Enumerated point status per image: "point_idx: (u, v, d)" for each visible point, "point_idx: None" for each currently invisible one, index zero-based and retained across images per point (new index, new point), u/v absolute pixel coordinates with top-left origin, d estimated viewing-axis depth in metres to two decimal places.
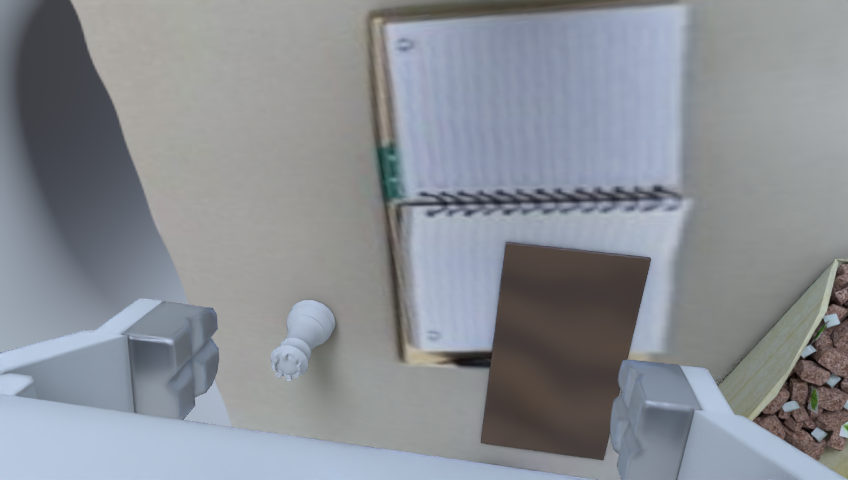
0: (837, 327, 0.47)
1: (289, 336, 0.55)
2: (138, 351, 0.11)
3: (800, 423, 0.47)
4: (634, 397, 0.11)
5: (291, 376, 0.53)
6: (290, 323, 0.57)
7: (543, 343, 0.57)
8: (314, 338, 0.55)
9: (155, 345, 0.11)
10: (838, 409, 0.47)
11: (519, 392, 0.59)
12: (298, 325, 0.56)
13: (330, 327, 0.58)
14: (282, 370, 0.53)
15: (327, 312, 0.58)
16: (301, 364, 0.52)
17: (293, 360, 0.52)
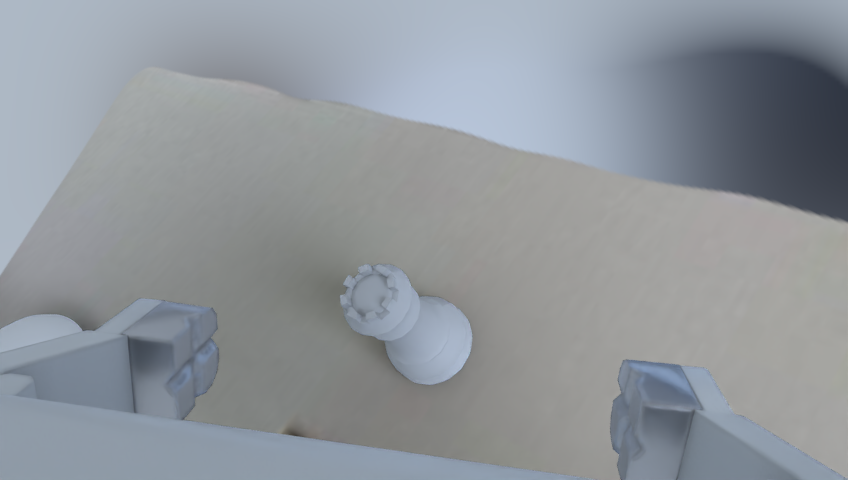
0: None
1: (421, 314, 0.28)
2: (138, 351, 0.11)
3: None
4: (634, 397, 0.11)
5: (349, 287, 0.27)
6: (444, 316, 0.30)
7: None
8: (394, 346, 0.29)
9: (155, 345, 0.11)
10: None
11: None
12: (432, 333, 0.29)
13: (400, 370, 0.31)
14: (369, 279, 0.27)
15: (427, 378, 0.31)
16: (356, 321, 0.26)
17: (370, 316, 0.25)
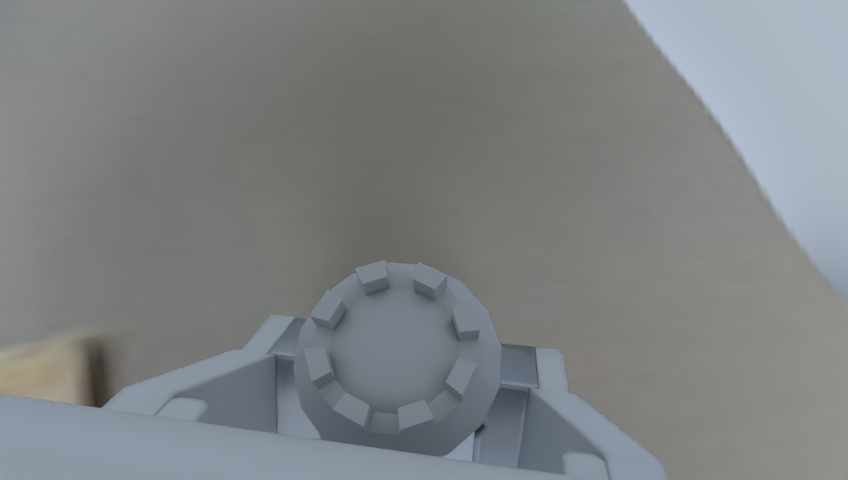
0: None
1: None
2: (285, 371, 0.11)
3: None
4: None
5: (363, 287, 0.10)
6: None
7: None
8: None
9: None
10: None
11: None
12: None
13: None
14: (418, 311, 0.09)
15: None
16: None
17: (349, 410, 0.09)
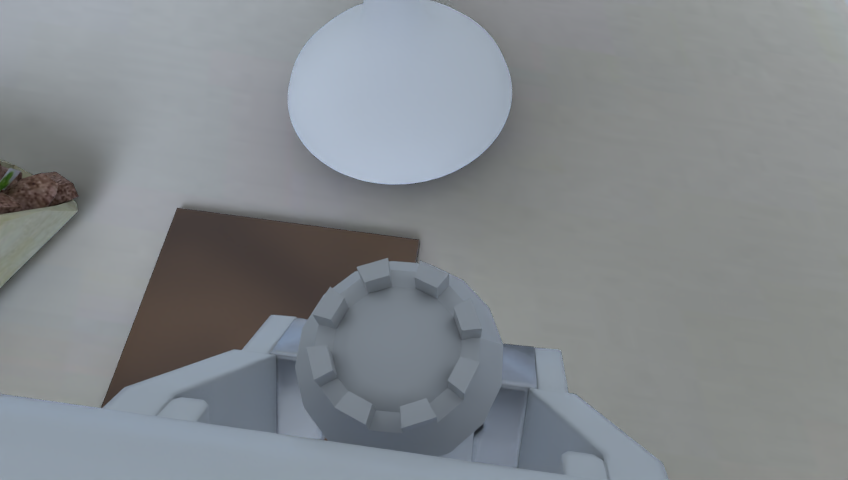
0: None
1: None
2: (286, 371, 0.11)
3: None
4: None
5: (365, 285, 0.10)
6: None
7: None
8: None
9: None
10: None
11: None
12: None
13: None
14: (420, 309, 0.09)
15: None
16: None
17: (352, 408, 0.09)
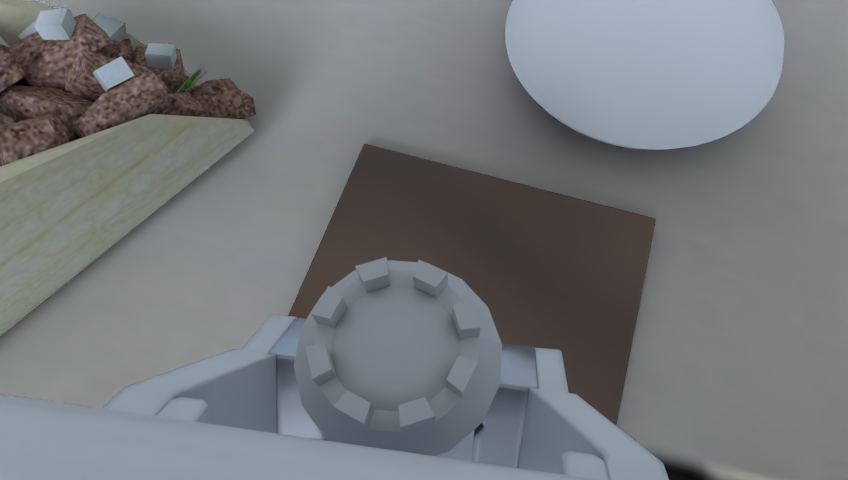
0: None
1: None
2: (286, 371, 0.11)
3: None
4: None
5: (363, 284, 0.10)
6: None
7: None
8: None
9: None
10: None
11: None
12: None
13: None
14: (418, 308, 0.09)
15: None
16: None
17: (350, 407, 0.09)
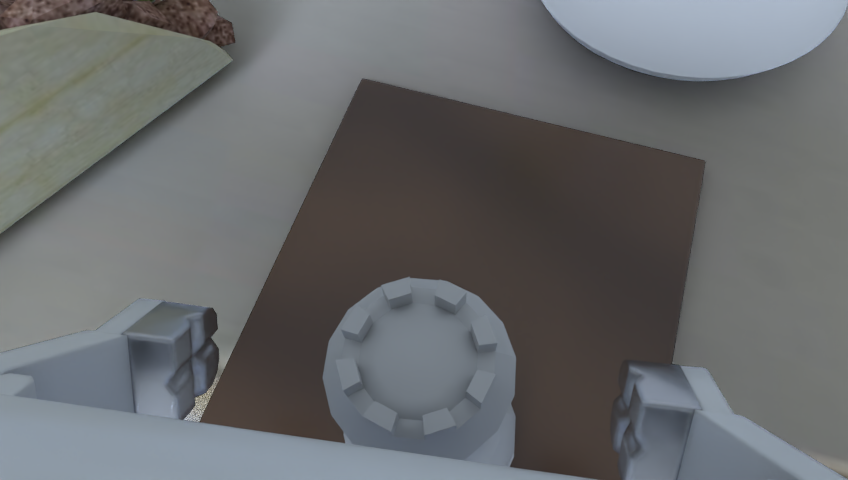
0: None
1: None
2: (138, 351, 0.11)
3: None
4: (634, 397, 0.11)
5: (388, 302, 0.10)
6: (492, 443, 0.14)
7: None
8: None
9: (155, 345, 0.11)
10: None
11: (567, 323, 0.18)
12: None
13: None
14: (439, 324, 0.10)
15: None
16: None
17: (378, 416, 0.09)
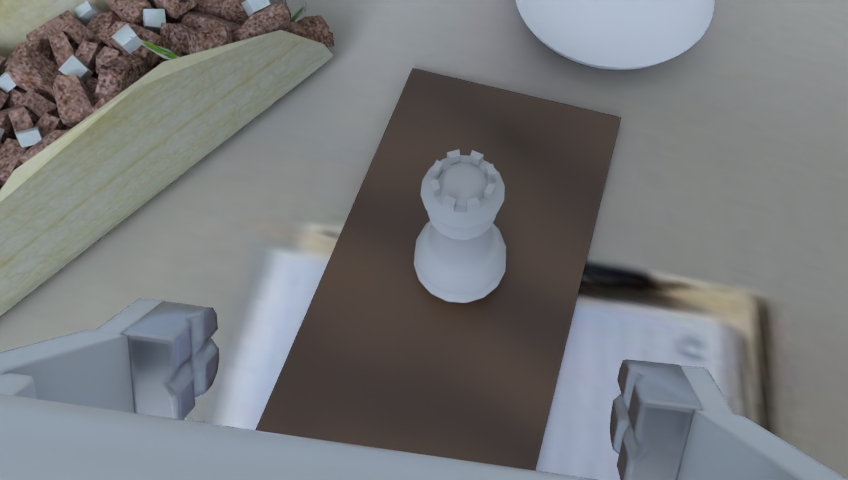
0: None
1: (482, 234, 0.26)
2: (138, 351, 0.11)
3: (22, 103, 0.26)
4: (634, 397, 0.11)
5: (449, 160, 0.24)
6: (494, 251, 0.28)
7: (476, 300, 0.30)
8: (434, 239, 0.27)
9: (155, 345, 0.11)
10: None
11: (536, 206, 0.32)
12: (473, 256, 0.27)
13: (417, 260, 0.29)
14: (472, 169, 0.24)
15: (431, 285, 0.29)
16: (432, 193, 0.24)
17: (448, 200, 0.23)
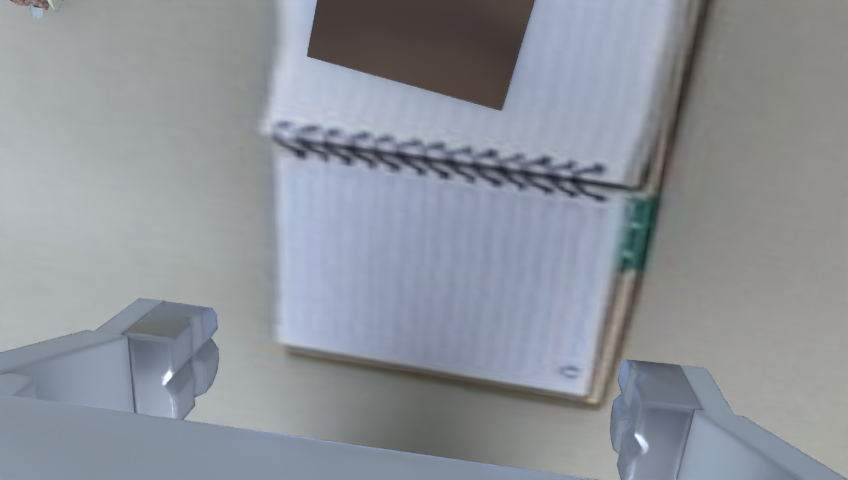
0: None
1: None
2: (138, 351, 0.11)
3: None
4: (634, 397, 0.11)
5: None
6: None
7: None
8: None
9: (155, 345, 0.11)
10: None
11: None
12: None
13: None
14: None
15: None
16: None
17: None
